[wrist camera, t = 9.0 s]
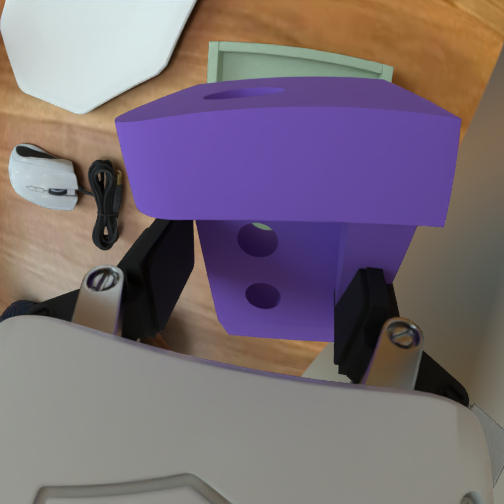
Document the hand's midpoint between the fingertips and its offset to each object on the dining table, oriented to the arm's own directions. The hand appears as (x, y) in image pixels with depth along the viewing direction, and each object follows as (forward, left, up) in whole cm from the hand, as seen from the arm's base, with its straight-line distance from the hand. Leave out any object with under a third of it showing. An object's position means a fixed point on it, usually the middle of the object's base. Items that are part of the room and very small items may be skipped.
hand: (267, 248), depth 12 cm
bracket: (-1, 0, -3) cm, 3 cm away
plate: (+20, -14, -17) cm, 29 cm away
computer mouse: (+25, +7, -17) cm, 31 cm away
